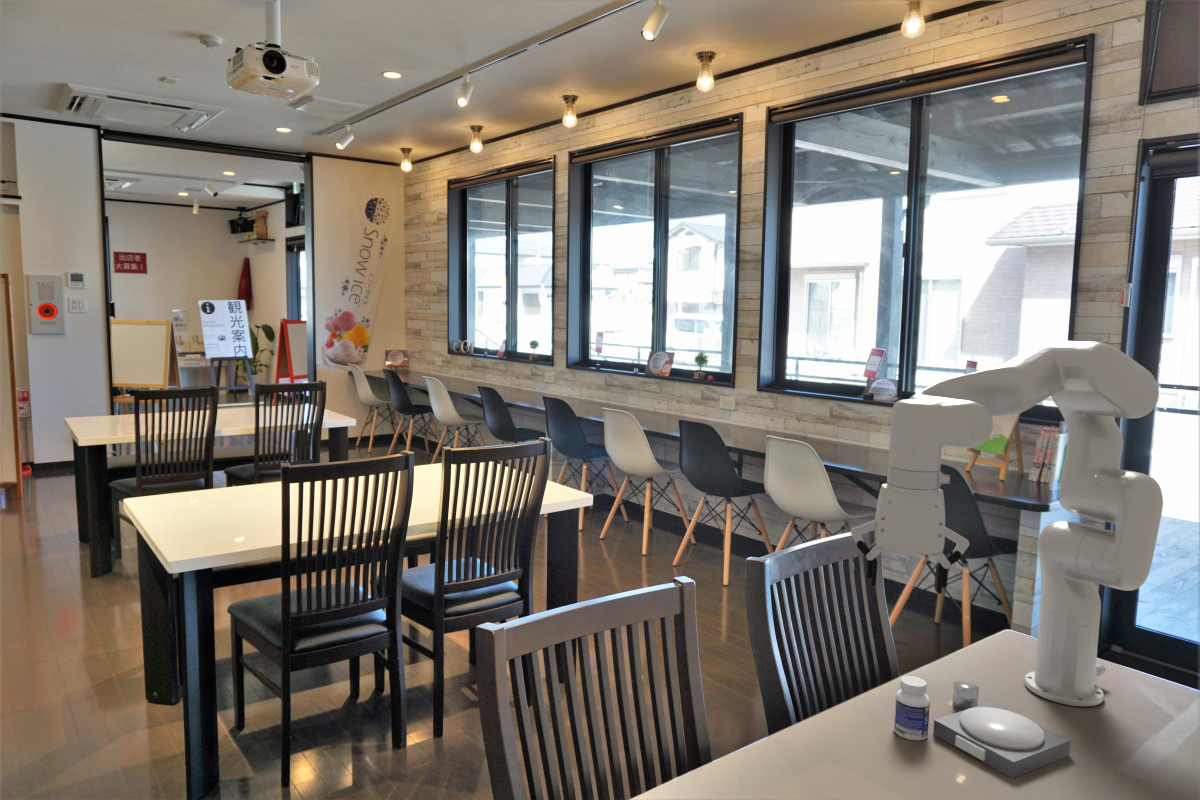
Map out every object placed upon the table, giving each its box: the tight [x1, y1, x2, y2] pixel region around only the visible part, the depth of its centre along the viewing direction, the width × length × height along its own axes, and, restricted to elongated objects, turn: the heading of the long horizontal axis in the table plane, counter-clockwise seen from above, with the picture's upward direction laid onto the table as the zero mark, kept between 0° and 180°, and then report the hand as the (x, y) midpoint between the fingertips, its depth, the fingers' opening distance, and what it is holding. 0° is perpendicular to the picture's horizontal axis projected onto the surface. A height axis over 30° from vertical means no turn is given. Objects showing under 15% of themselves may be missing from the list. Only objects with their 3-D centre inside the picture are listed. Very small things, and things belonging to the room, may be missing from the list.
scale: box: [932, 701, 1071, 779], centre depth 127 cm, size 14×14×3 cm
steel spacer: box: [951, 680, 980, 712], centre depth 140 cm, size 4×4×4 cm
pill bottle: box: [893, 675, 931, 741], centre depth 130 cm, size 5×5×9 cm
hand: (905, 587), depth 125 cm, fingers open, 9 cm apart
